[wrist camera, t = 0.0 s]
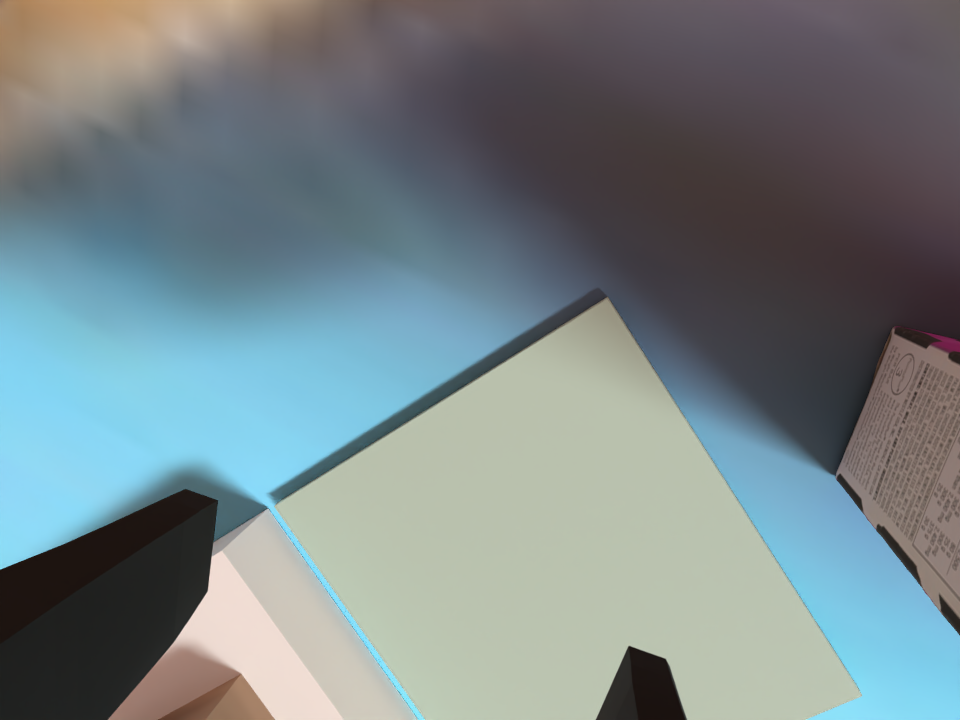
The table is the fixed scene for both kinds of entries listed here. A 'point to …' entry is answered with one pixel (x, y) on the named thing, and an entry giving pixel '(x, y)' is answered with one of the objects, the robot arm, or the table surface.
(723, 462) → the table surface
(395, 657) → the mat
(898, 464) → the candy bar box
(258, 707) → the walnut tile
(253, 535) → the pale pink flat block
